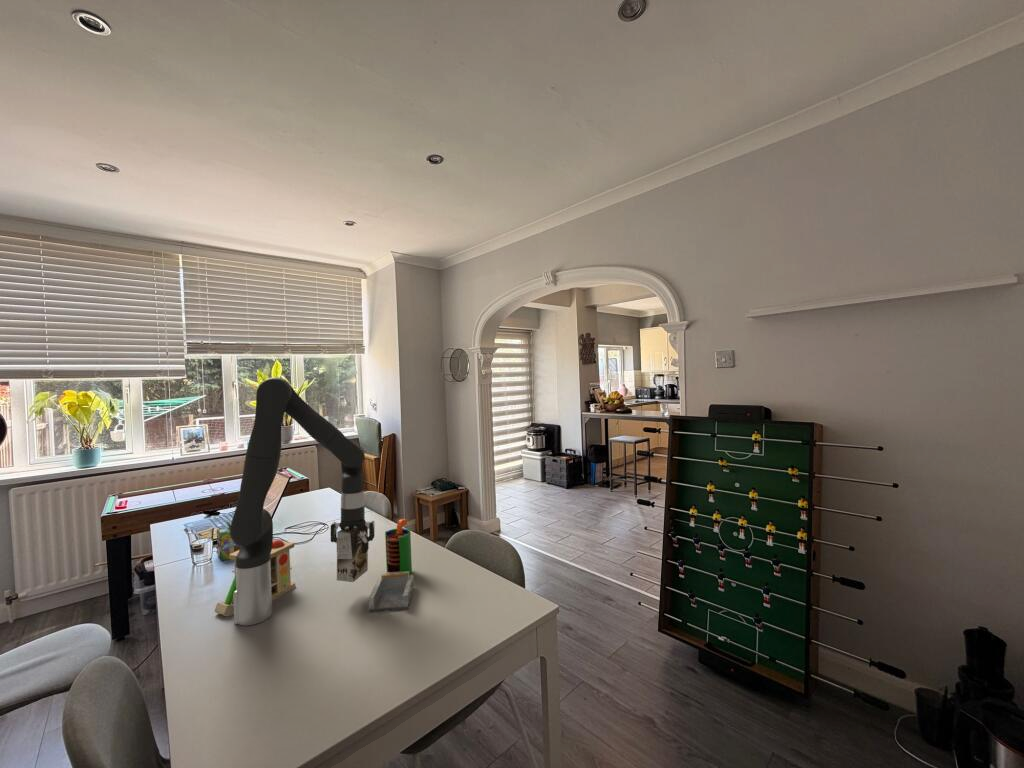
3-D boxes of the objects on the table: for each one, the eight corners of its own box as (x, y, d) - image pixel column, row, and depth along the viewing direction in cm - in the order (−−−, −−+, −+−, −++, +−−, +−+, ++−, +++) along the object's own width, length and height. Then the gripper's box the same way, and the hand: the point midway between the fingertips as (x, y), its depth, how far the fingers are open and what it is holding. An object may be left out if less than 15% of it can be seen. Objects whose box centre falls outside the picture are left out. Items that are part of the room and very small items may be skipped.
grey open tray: (369, 612, 132) (368, 593, 132) (378, 590, 146) (378, 573, 146) (407, 609, 133) (407, 590, 133) (413, 587, 147) (413, 570, 147)
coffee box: (354, 582, 137) (353, 533, 137) (336, 580, 138) (336, 531, 138) (368, 570, 146) (368, 523, 145) (351, 568, 147) (351, 522, 147)
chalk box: (246, 555, 180) (245, 520, 180) (221, 561, 174) (220, 526, 174) (241, 549, 187) (240, 515, 187) (217, 555, 180) (215, 521, 180)
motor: (380, 576, 157) (379, 522, 157) (397, 566, 165) (396, 515, 165) (401, 581, 152) (399, 526, 152) (417, 571, 160) (416, 519, 160)
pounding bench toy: (237, 622, 129) (236, 563, 129) (203, 615, 133) (201, 559, 133) (296, 586, 151) (295, 536, 151) (265, 581, 155) (264, 533, 155)
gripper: (326, 508, 137) (327, 559, 137) (372, 507, 139) (372, 557, 139) (334, 502, 145) (334, 549, 145) (377, 500, 146) (377, 548, 146)
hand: (352, 553), depth 142 cm, fingers closed on coffee box, 7 cm apart
